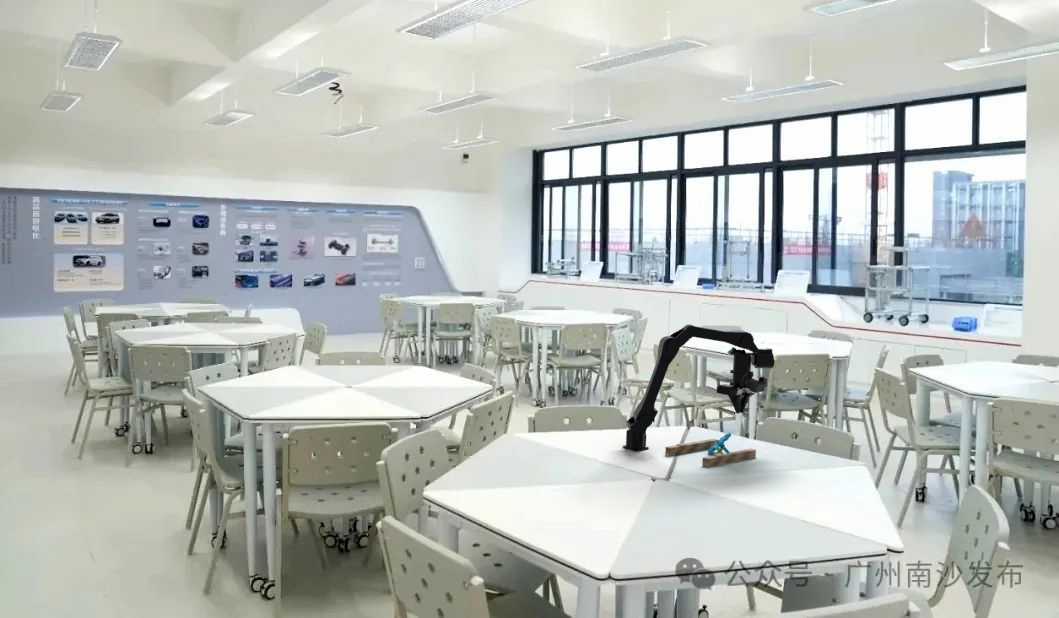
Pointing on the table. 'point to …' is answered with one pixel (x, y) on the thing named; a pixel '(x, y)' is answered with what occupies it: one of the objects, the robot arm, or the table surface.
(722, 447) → the gear
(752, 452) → the guide channel
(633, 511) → the table surface
